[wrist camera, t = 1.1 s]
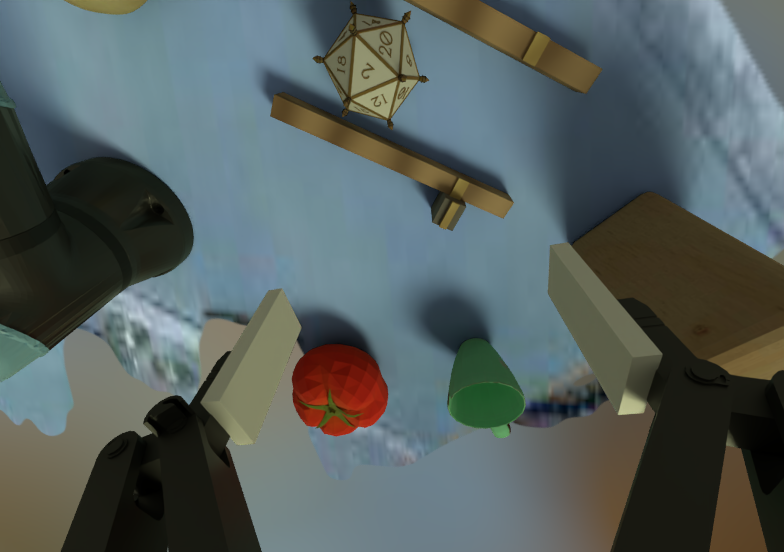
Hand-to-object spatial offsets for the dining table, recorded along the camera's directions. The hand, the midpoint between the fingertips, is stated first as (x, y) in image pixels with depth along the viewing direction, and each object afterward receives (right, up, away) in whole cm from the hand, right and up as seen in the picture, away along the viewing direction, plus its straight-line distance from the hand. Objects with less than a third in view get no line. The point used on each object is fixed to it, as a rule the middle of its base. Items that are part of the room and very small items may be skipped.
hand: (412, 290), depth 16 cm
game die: (-2, +21, +15) cm, 26 cm away
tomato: (-9, -14, +38) cm, 42 cm away
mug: (+13, -12, +36) cm, 40 cm away
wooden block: (+27, +5, +23) cm, 36 cm away
